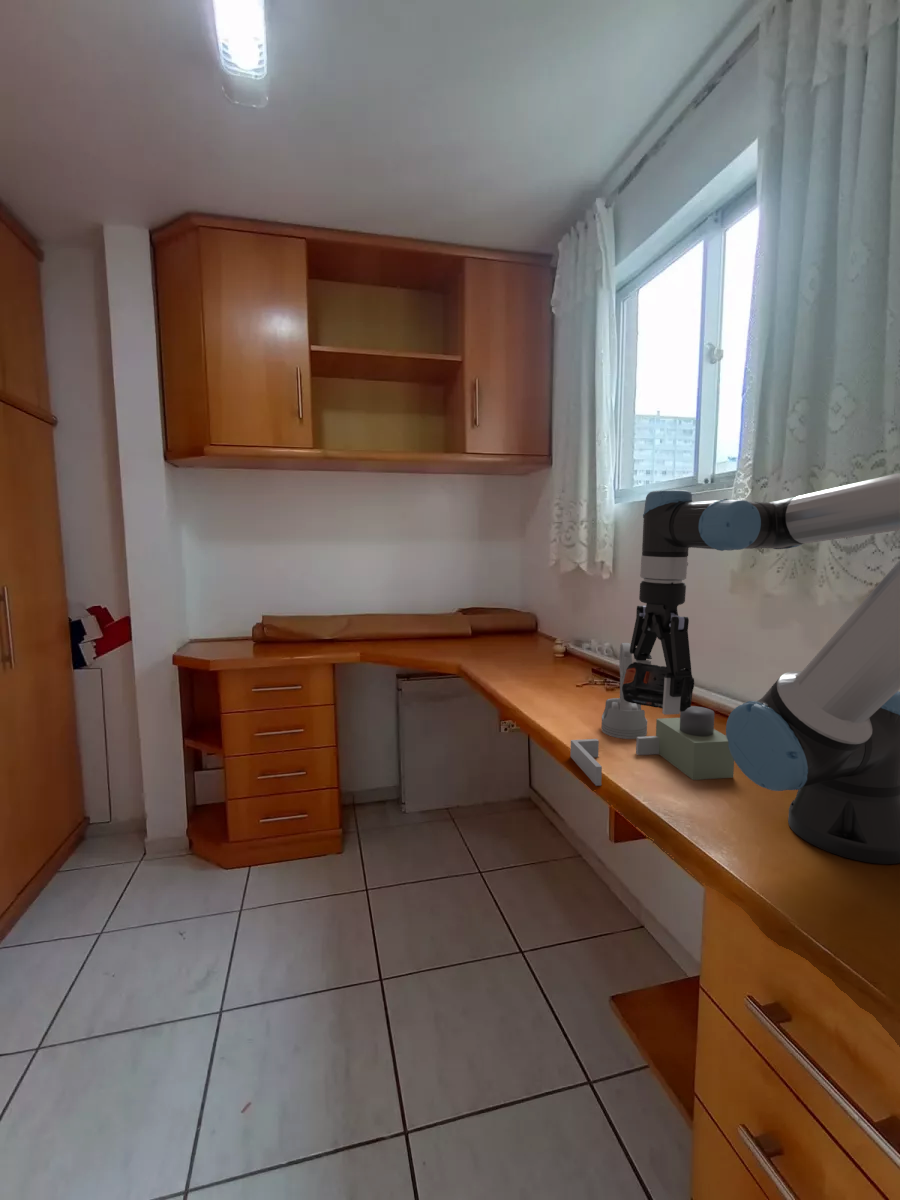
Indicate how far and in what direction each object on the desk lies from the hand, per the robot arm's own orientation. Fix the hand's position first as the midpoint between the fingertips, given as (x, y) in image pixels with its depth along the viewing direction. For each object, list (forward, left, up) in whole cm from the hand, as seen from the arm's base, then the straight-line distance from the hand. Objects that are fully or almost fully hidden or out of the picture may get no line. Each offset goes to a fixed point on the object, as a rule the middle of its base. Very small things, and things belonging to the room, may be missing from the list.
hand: (655, 703), depth 99 cm
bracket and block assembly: (+6, -2, -15) cm, 16 cm away
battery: (0, 0, -1) cm, 1 cm away
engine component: (+26, -6, -15) cm, 31 cm away
